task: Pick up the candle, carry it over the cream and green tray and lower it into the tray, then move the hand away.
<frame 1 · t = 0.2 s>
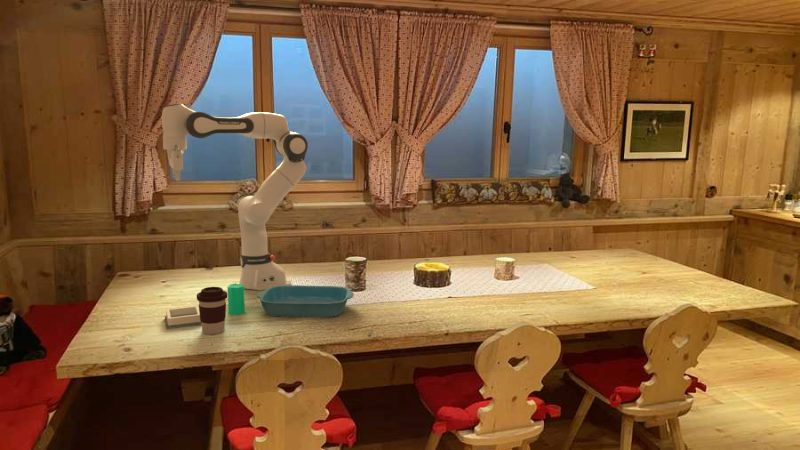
hand: (176, 179, 229), 48 cm above the table, fingers open, 8 cm apart
candle: (236, 312, 214), on the table
coffee cup: (213, 331, 195), on the table
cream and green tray: (183, 321, 203), on the table
casserole dish: (305, 311, 219), on the table
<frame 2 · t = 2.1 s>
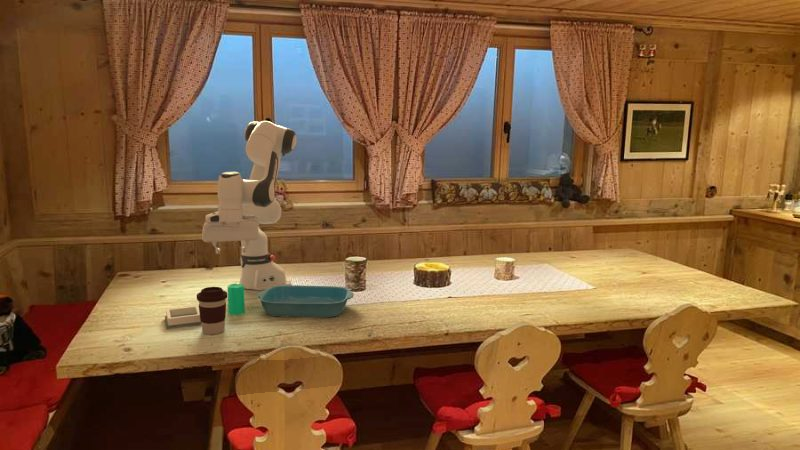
hand: (231, 252, 211), 23 cm above the table, fingers open, 8 cm apart
nothing on the table moved.
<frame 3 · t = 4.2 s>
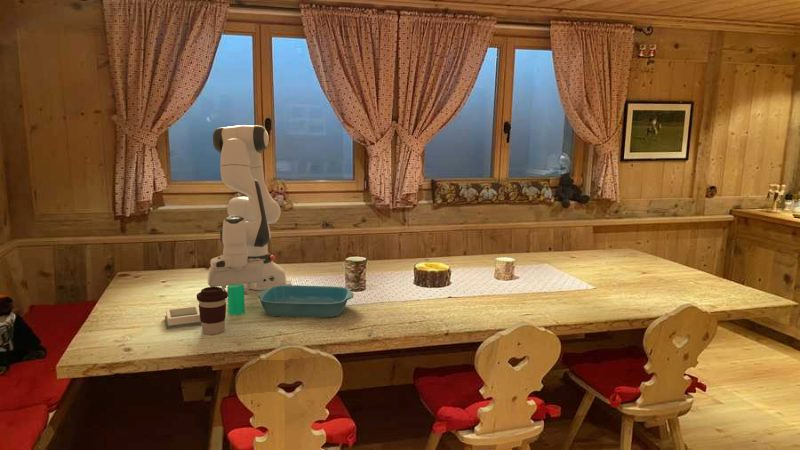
hand: (236, 295, 213), 7 cm above the table, fingers open, 5 cm apart
candle: (236, 312, 214), on the table, touching gripper
everything else where it was.
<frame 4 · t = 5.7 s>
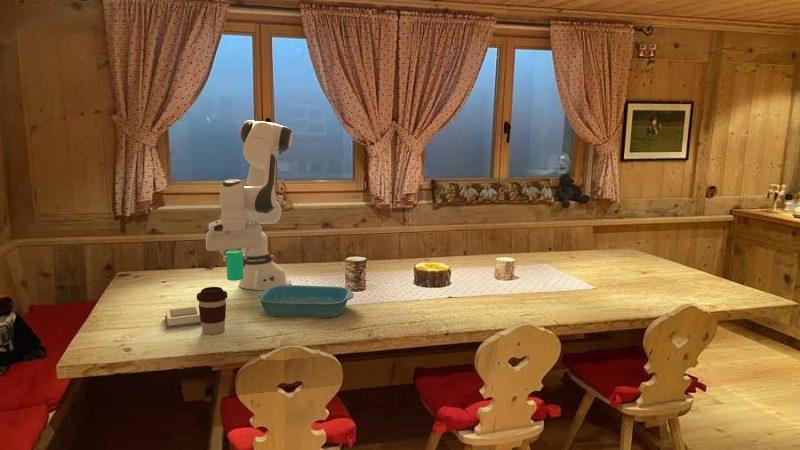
hand: (235, 260, 211), 20 cm above the table, fingers closed on candle, 5 cm apart
candle: (235, 278, 212), point 13 cm above the table, touching gripper
everything else where it was.
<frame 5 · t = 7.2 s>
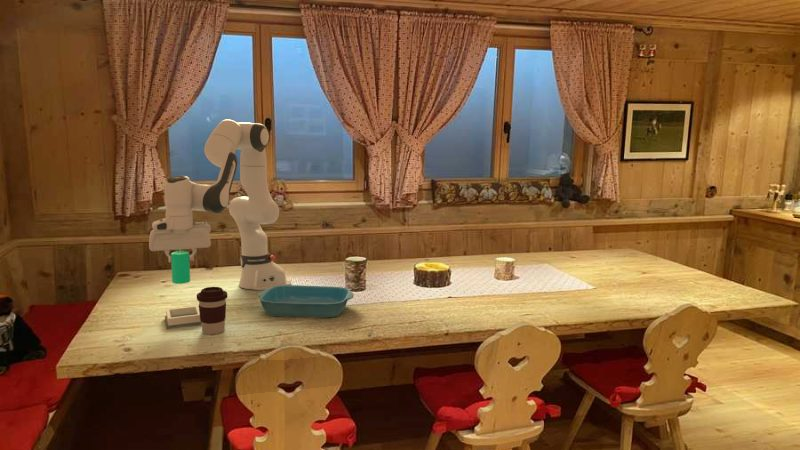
hand: (181, 261, 200), 22 cm above the table, fingers closed on candle, 5 cm apart
candle: (181, 282, 201), point 15 cm above the table, touching gripper
everything else where it was.
when the fingers open (9 cm above the table, at t = 9.5 s): candle stays where it is, resting on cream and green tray.
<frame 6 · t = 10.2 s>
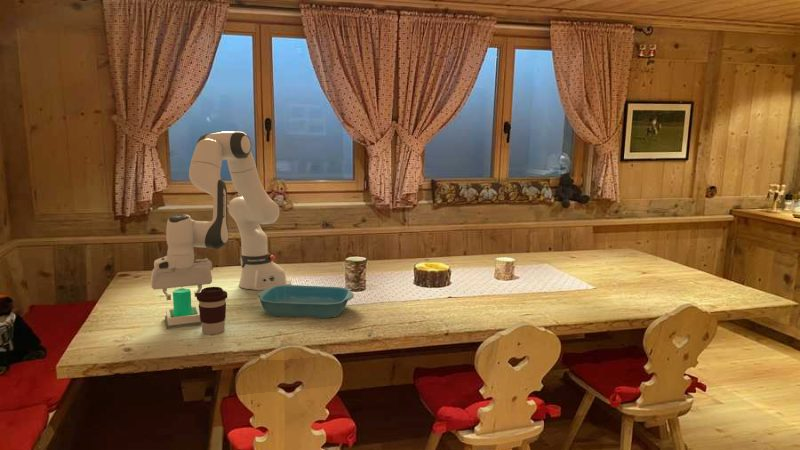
hand: (182, 298, 202), 9 cm above the table, fingers open, 8 cm apart
candle: (183, 319, 203), point 1 cm above the table, touching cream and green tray
everything else where it was.
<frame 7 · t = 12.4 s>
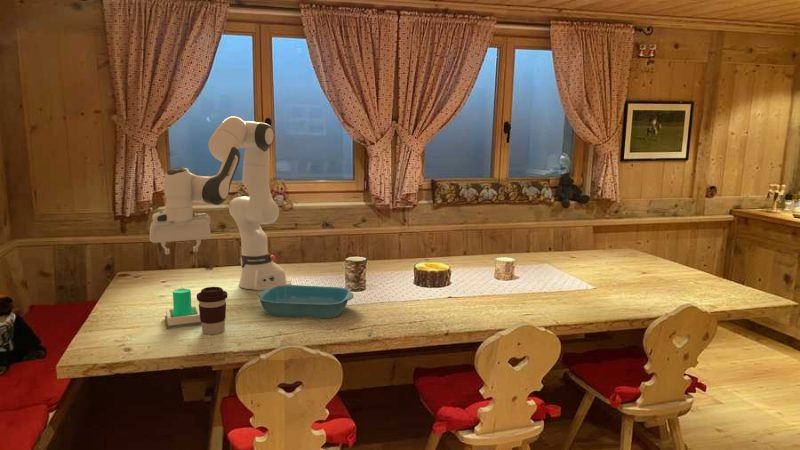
hand: (181, 252, 201), 25 cm above the table, fingers open, 8 cm apart
nothing on the table moved.
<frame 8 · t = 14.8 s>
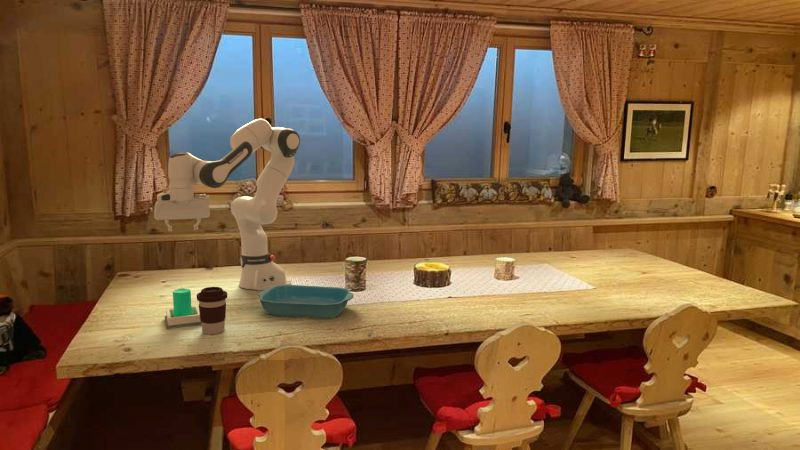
hand: (183, 230, 220), 29 cm above the table, fingers open, 8 cm apart
nothing on the table moved.
at the end: candle 0.3 cm off-centre on the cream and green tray, point 0.8 cm above the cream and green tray's base; candle tilted 0°; the gripper is holding nothing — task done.
